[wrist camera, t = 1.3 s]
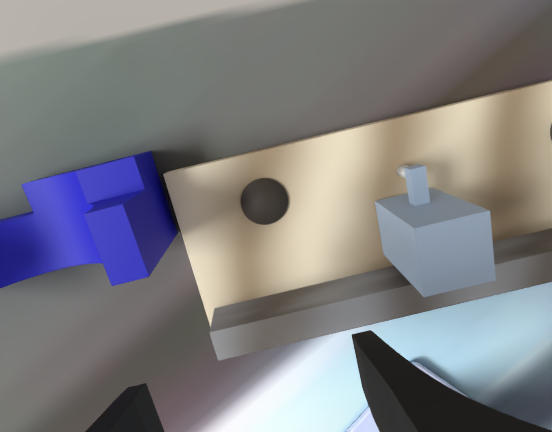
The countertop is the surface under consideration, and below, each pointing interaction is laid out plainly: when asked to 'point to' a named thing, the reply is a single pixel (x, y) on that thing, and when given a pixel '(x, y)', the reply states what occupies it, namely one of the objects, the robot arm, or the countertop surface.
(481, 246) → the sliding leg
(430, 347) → the countertop surface
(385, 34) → the countertop surface
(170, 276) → the countertop surface
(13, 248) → the cable clip
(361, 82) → the countertop surface
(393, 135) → the board
